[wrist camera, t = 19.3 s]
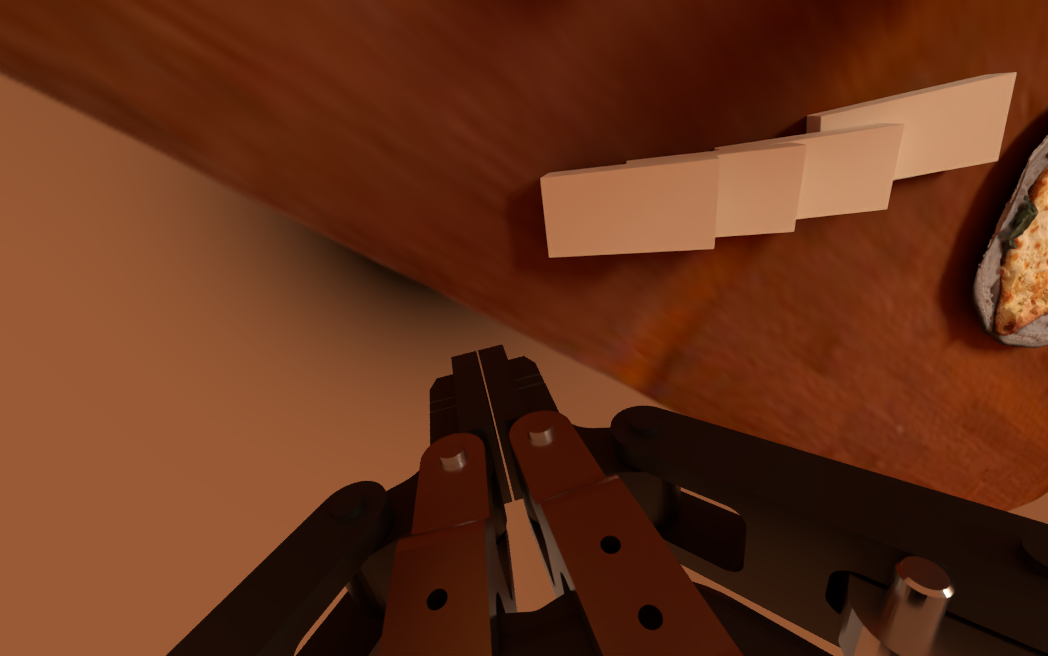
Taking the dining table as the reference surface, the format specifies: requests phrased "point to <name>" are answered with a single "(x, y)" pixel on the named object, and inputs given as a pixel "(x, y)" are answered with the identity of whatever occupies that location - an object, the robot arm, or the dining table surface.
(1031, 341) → the food plate
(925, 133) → the tile
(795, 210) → the tile
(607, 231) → the tile
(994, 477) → the dining table surface
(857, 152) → the tile
